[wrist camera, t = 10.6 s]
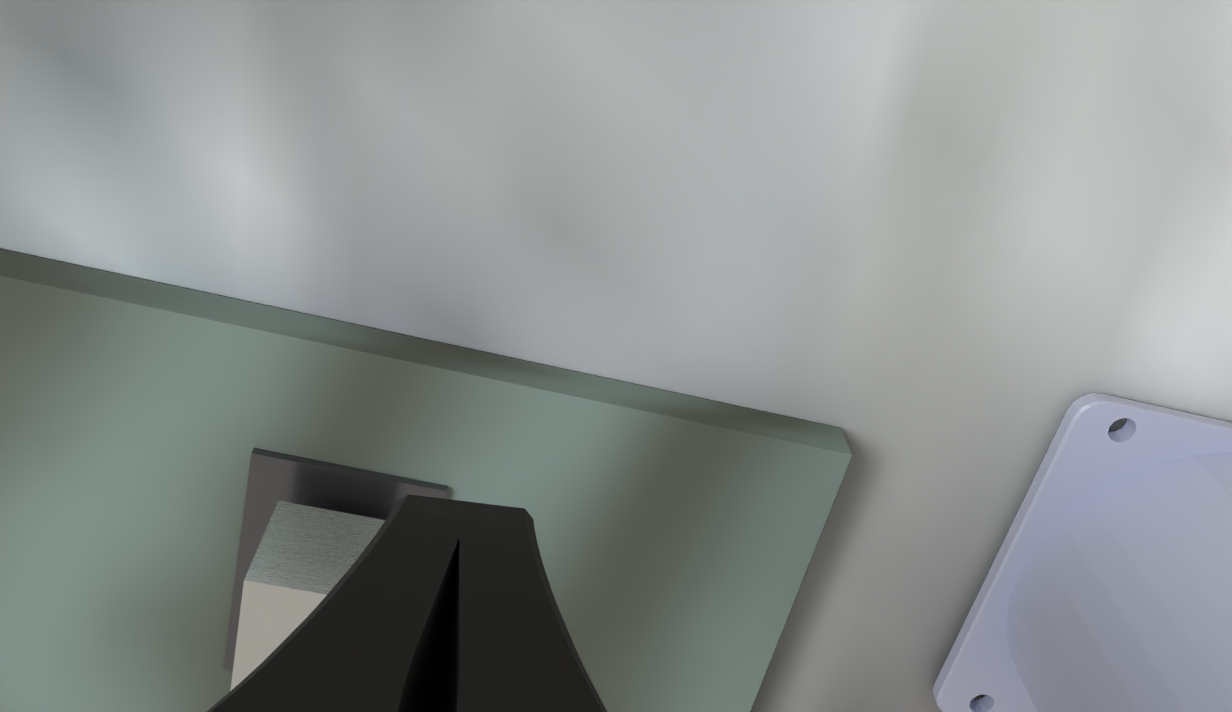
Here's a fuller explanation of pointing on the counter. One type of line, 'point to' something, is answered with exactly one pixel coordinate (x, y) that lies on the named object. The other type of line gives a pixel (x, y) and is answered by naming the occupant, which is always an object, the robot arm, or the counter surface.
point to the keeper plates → (309, 504)
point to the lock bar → (294, 575)
